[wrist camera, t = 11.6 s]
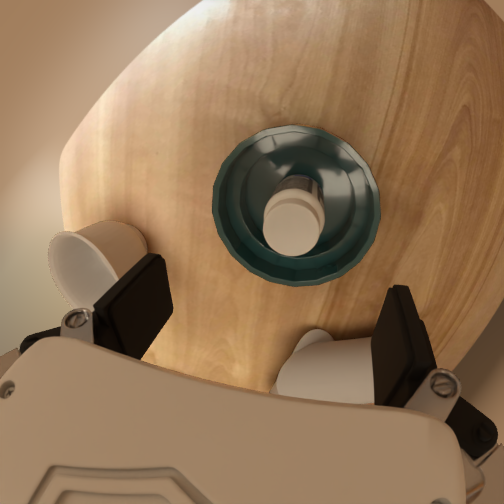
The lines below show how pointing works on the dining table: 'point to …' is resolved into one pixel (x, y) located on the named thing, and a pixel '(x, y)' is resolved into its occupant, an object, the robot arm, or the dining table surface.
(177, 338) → the dining table surface
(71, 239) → the teacup
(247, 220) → the bowl
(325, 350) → the beige tubular fitting
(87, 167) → the dining table surface
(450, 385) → the robot arm
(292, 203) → the pill bottle
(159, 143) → the dining table surface
